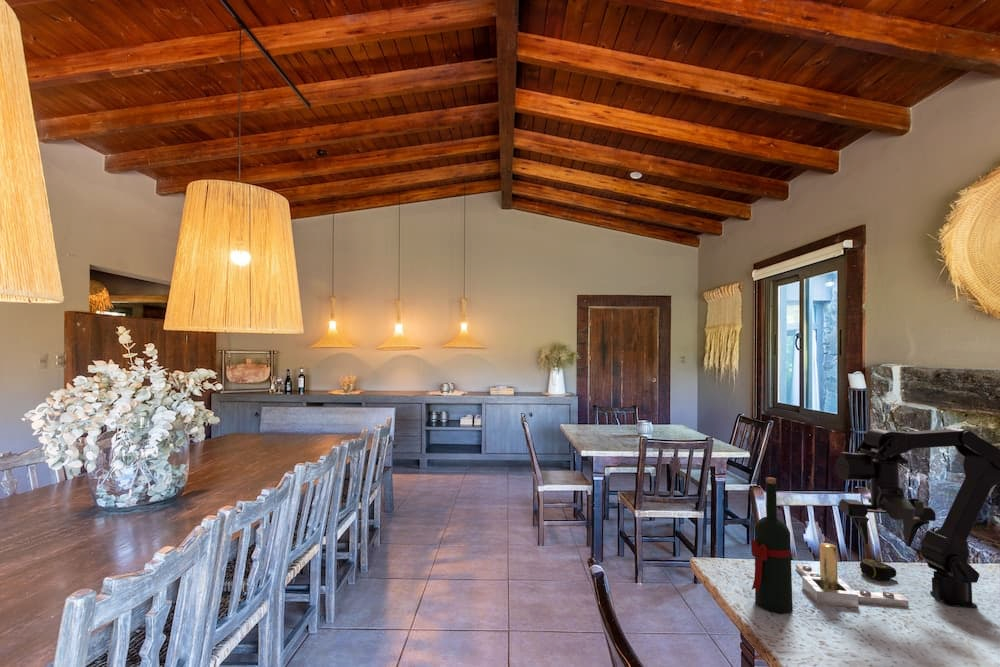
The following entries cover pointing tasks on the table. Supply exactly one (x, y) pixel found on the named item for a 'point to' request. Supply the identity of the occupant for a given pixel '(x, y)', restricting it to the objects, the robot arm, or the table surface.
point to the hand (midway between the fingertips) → (886, 544)
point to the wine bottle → (772, 558)
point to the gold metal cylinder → (828, 566)
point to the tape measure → (877, 569)
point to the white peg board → (844, 592)
